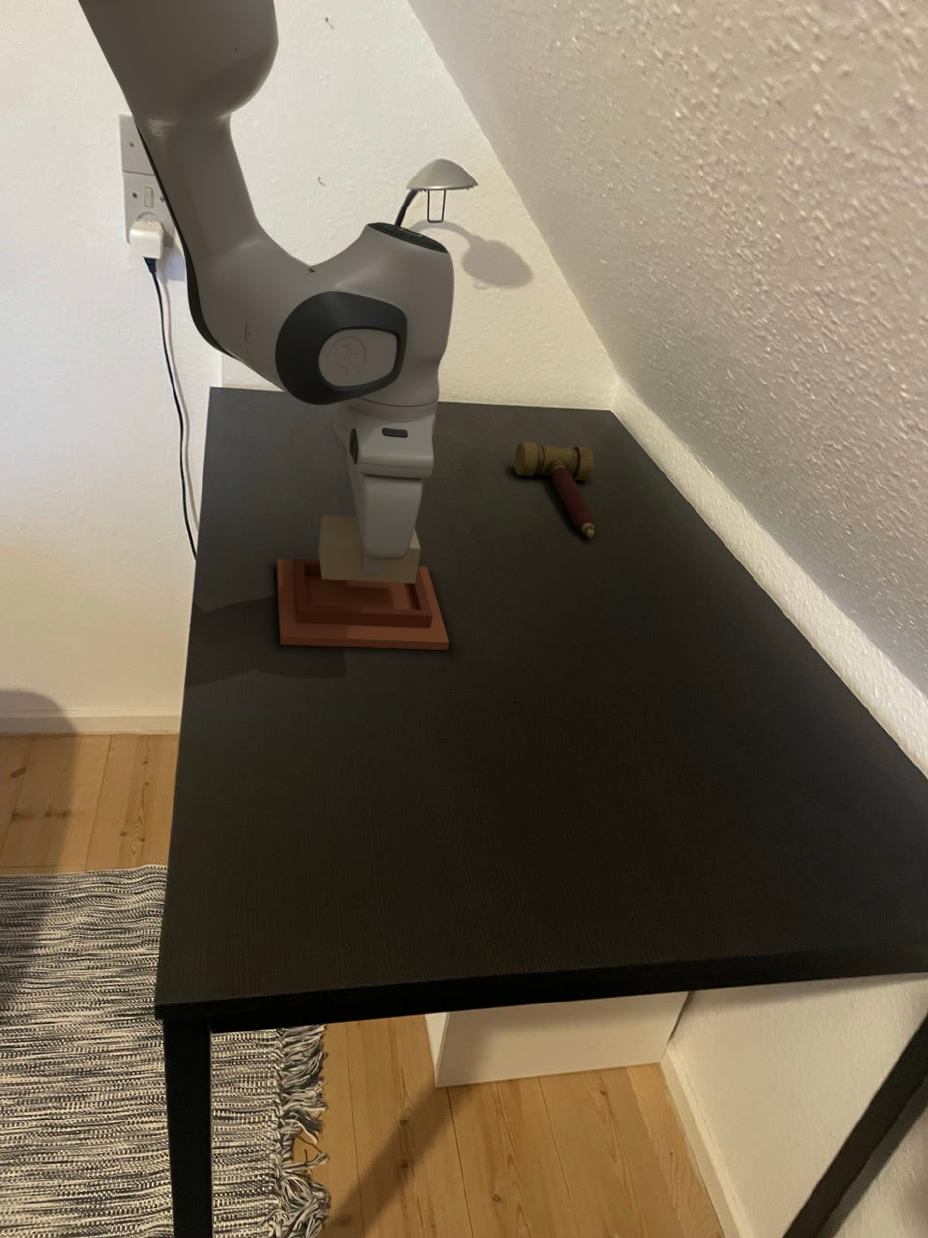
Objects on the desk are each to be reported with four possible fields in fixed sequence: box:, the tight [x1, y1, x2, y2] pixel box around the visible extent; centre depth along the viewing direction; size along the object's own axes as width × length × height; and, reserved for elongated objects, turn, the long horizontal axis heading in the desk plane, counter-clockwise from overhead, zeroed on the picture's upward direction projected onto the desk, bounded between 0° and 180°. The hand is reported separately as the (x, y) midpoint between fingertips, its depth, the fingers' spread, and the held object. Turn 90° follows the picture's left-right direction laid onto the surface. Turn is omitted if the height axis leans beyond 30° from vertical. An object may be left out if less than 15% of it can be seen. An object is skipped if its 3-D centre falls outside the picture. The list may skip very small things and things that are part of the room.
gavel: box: [514, 441, 595, 539], centre depth 124 cm, size 21×5×10 cm
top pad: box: [318, 514, 421, 584], centre depth 92 cm, size 9×6×4 cm, turn 100°
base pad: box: [276, 558, 450, 651], centre depth 95 cm, size 16×14×2 cm
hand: (367, 551), depth 92 cm, fingers closed on top pad, 5 cm apart
